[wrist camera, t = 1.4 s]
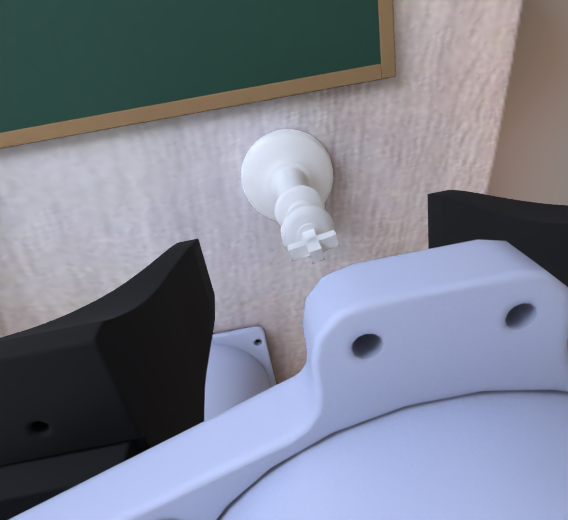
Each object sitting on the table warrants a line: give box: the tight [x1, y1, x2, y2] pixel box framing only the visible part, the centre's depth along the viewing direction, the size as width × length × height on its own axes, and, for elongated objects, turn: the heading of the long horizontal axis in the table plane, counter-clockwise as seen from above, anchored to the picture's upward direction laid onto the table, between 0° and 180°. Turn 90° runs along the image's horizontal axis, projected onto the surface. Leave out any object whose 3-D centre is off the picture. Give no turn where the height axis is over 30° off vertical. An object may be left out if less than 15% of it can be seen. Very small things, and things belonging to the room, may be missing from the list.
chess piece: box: [241, 129, 340, 264], centre depth 18 cm, size 5×5×10 cm
